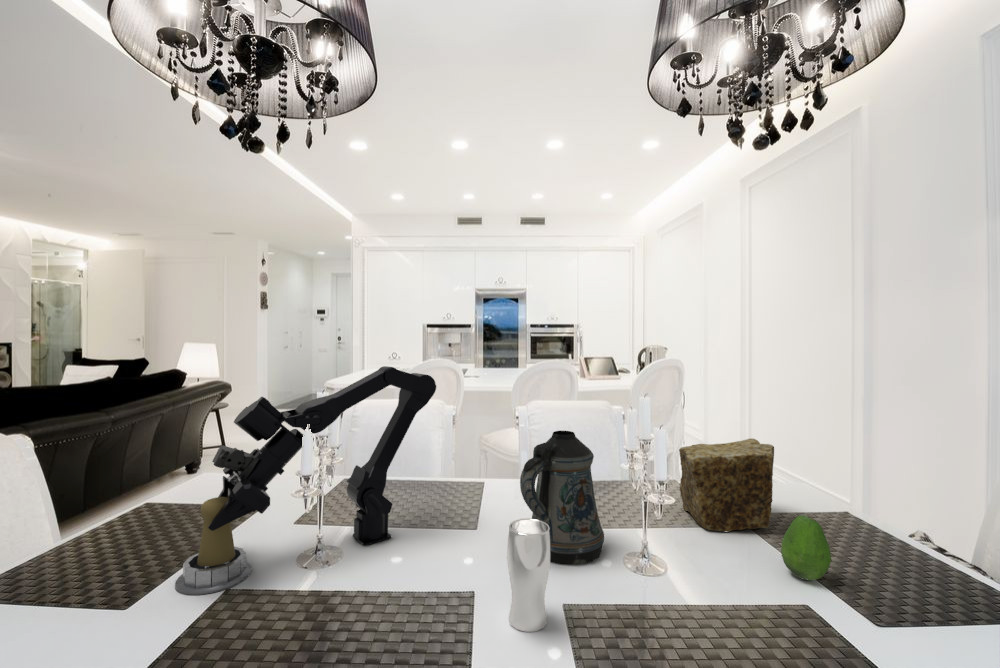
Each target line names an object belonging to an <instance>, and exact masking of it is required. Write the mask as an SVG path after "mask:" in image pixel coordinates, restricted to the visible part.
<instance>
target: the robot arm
mask: <svg viewBox="0 0 1000 668" xmlns="http://www.w3.org/2000/svg"><path fill="white" fill-rule="evenodd" d="M389 386H393V387H395V388H399V392H398V402H397V406H396V408H395V410H394V412H393V414H392V416H391V417H390V419H389V421H388V424H387V425H386V428H385V429H384V431H383V433H382V435H381V437H380V439H379V441H378V443H377V445H376V447H375V448H374V450H373V452H372V453H371V455H370V458H369V459H368V461H367V462H366V463H365V464H363V465H362V466H361V467H360V466H359V465H357V464H356V465H355V467H354V469H353V471H352V474H351V475H350V477H349V478H348V479H347V480H346V483H347V487H346V494H347V496H348V498H349V500H351V501H352V502H353V503H354V504H355V507H356V508H359V509H357V510H356V515H355V516H356V517H355V518H354V519H353V533H352V537H353V538H354V539H355V540H357V541H358V542H359V543H360V544H361V545H363V546H368V545H371V544H375V543H378V542H381V541H386V540H389V539H391V538H392V534H390V533H389V514H390V513H391V510H392V507H393V503H392V502H391V501H390V500H389V499H388V498H386V496H384V495H383V494H384V492H385V490H386V489H385V488H386V486H387V478H388V477H387V476H388V470H389V467H390V466H391V464H392V462H393V460H394V459H395V456H396V454H397V452H398V450H399V448H400V447H401V444H402V443H403V440H404V438H405V436H406V434H407V433H408V430H409V428H410V426H411V424H412V423H413V421H414V419H415V417H416V415H417V413H418V412H420V411H421V410H422V409H424V408H425V407H426V405H427V404H428V403H429V402H430V400H431V399H432V398H433V396H434V394H435V393H436V390H437V384H436V381H435V379H434V377H432V376H431V375H430V374H424V373H419V372H418V373H417V372H412V373H408V372H406V371H403V370H400V369H397V368H396V367H394V366H386V365H384V366H383V365H382V366H381V367H379V368H378V369H377V370H375V371H373V372H372V373H369V374H368V375H366V376H364V377H362V378H361V379H359V380H357V381H355V382H353V383H352V384H349V385H348V386H346V387H343V388H342V389H340V390H337V392H333V393H332V394H329V395H325V396H320V397H317V398H314V399H311V400H308V401H305V402H302V403H300V404H299V405H297V407H296V408H294V409H289V410H288V409H287V410H285V411H280V410H278V409H277V408H276V407H275V406H274V405H272V403H271V402H270V401H269V400H268V399H267V398H266V397H264V396H260V397H259V398H258V399H257V400H256V401H253V403H252V402H251V404H250V405H248V406H245V408H243V409H242V410H241V411H240V412H239V413H238V415H237V416H236V417H235V418H234V421H233V424H235V426H237V427H239V428H240V429H241V430H242V431H244V432H245V433H246V434H247V435H249V436H250V437H251V438H253V440H255V441H256V442H259V441H262V440H264V441H267V442H266V443H265V444H264V445H263V446H262V447H261V448H254V449H253V450H252V451H251V452H250V453H249V452H246V451H244V450H243V449H238V448H237V447H234V448H233V447H230V446H226V445H223V444H220V446H219V447H218V449H217V451H216V454H215V455H214V457H213V459H212V461H211V462H212V463H213V466H214V467H217V468H221V469H222V471H223V473H224V474H225V475H228V476H227V477H226V476H224V475H223V476H222V490H221V491H220V493H219V495H218V496H217V497H228V500H227V502H226V503H225V504H224V506H223V507H222V508H221V510H220V511H219V512H218V514H217V515H216V516H215V518H214V519H213V520H212V522H211V523H210V525H209V526H208V528H209V529H210V530H212V531H214V530H216V529H218V528H220V527H222V526H224V525H226V524H228V523H230V522H234V521H236V520H237V519H240V518H242V517H244V516H247V515H248V514H250V513H255V512H257V513H260V514H263V513H264V512H265V511H266V510H267V509H268V508H269V507H270V506H271V497H270V495H269V494H268V493H267V490H268V489H269V487H268V486H267V485H268V484H270V483H271V482H272V480H273V479H274V478H276V477H277V475H280V476H281V475H282V474H283V473H284V472H285V470H284V467H285V466H286V465H288V463H289V462H290V461H291V460H292V459H293V458H294V457H295V456H296V455H297V454H298V452H300V451H301V449H302V448H303V447H302V437H303V435H304V434H303V433H302V432H301V431H300V430H298V429H297V428H300V429H302V430H303V431H305V429H306V427H307V424H310V428H309V429H311V432H312V433H311V434H319V433H321V432H323V431H325V429H326V428H328V427H330V425H332V424H333V423H334V422H336V421H337V419H338V418H339V417H340V416H341V415H342V414H343V413H344V412H345V411H347V410H348V409H350V408H352V407H354V406H356V405H358V404H359V403H360V402H362V401H364V400H366V399H368V398H370V397H372V396H373V395H375V394H377V393H379V392H380V391H382V390H384V389H386V388H387V387H389ZM283 423H286V424H287V425H288V426H290V427H291V428H293V429H291V430H290V429H288V428H287V427H286V426H285V425H284V424H283ZM314 439H315V438H314V437H313V441H314ZM313 449H314V447H313Z"/></svg>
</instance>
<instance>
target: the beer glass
mask: <svg viewBox="0 0 1000 668" xmlns="http://www.w3.org/2000/svg"><path fill="white" fill-rule="evenodd" d="M507 534H508V535H507V550H506V551H507V552H506V554H507V555H506V556H507V557H506V559H507V570H508V576H509V583H510V590H511V604H510V609H509V615H508V622H509V624H510V625H511V626H512V627H513V628H514V629H516V630H518V631H521V632H525V633H535V632H538V631H541V630H543V629H544V628H545V627H546V625H547V622H548V617H547V609H546V603H545V602H546V599H545V598H546V591H547V584H548V581H549V574H550V568H551V567H550V566H551V562H550V560H551V543H550V526H549V525H548V524H547V523H545V522H543V521H541V520H537V519H532V518H519V519H515V520H513V521H511V522H510V523H509V525H508V533H507Z"/></svg>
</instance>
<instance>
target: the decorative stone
mask: <svg viewBox="0 0 1000 668" xmlns="http://www.w3.org/2000/svg"><path fill="white" fill-rule="evenodd" d="M678 451H679V458H680V465H681V469H680V470H681V477H680V484H679V485H680V486H679V491H680V497H681V500H682V508H683V510H684V511H685V512H686V511H688V512H687V513H690V515H691V516H692V518H693V519H694V521H695V522H697V524H698V525H699V526H700V527H702V528H703V529H705V530H707V529H708V530H707V531H718V532H721V531H728V532H731V531H733V530H735V531H737V530H738V531H740V530H741V531H742V530H744V529H750V530H753V529H759V528H765V529H767V528H769V527H770V518H771V516H772V503H773V501H774V500H773V474H774V472H773V471H774V458H775V446H774V445H773V444H770V443H760V441H759V440H757V439H755V438H747V439H742V440H737V441H733V442H725V443H714V444H709V443H708V444H706V443H697V444H692V445H689V446H687V445H686V446H681V447H680V448H679V450H678Z"/></svg>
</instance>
